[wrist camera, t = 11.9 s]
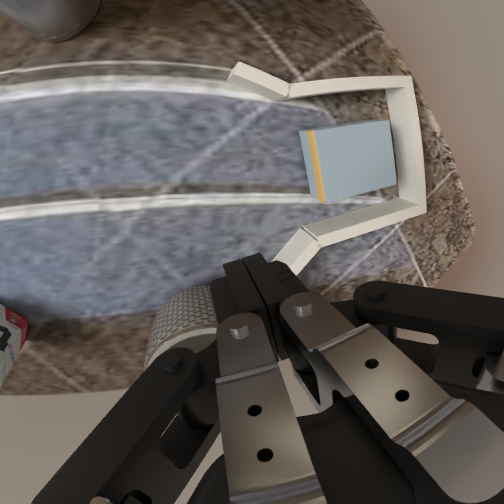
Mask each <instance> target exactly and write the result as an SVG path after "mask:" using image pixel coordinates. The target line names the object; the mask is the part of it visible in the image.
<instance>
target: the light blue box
mask: <svg viewBox="0 0 504 504" xmlns="http://www.w3.org/2000/svg"><path fill="white" fill-rule="evenodd" d="M299 135H300V136H299V138H300V141H301V145H302V150H303V155H304V160H305V165H306V171H307V176H308V185H309V188H310V193H311V195H312V196H314V197H316V198H318V199H319V201H320V202H322V203H328V202H331V201H335V200H339V199H343V198H346V197H350V196H354V195H358V194H362V193H365V192H369V191H373V190H377V189H381V188H385V187H389V186H393V185H397V183H396V172H395V162H394V154H393V145H392V138H391V131H390V124H389V120H365V121H357V122H350V123H343V124H337V125H330V126H324V127H318V128H312V129H307V130H301V131H299Z"/></svg>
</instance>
